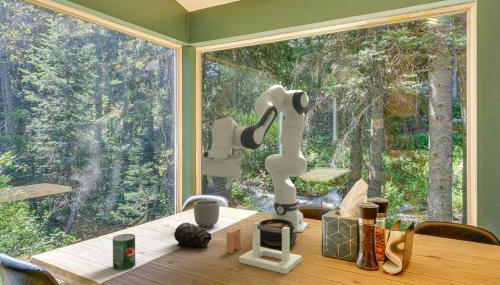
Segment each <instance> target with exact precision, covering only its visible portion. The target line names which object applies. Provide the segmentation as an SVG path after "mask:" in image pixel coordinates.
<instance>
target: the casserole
mask: <svg viewBox="0 0 500 285" xmlns="http://www.w3.org/2000/svg"><path fill="white" fill-rule="evenodd" d="M260 225H262V226H268V227H273V228H279V229H282V228H283V227H290V246H292V245H293V244H295V241H296V239H297V235H295V233H293V230H294V229H295V227H294V226H293V224H292V222H290V221H288V220H283V219H272V218H271V219H264V220H261V221H260ZM260 242H261V243H265V244H266V245H268V246H270V247H282V233H277V232H271V231H266V230H260Z"/></svg>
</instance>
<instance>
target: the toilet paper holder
mask: <svg viewBox="0 0 500 285" xmlns="http://www.w3.org/2000/svg"><path fill="white" fill-rule="evenodd" d="M260 222H261V221H260ZM260 222H259V221H258V222H257V221H253V222H252V226H251V228H252V229H251V230H252V235H251V236H252V248H251V250H249V251H246V252H245V253H244V254H242V255H239V257H238V262H239V263H241V264H245V265H248V266H253V267H256V268H261V269H265V270H269V271H272V272H275V273H279V272H280V274H284V275H287V274H288V273H289V272H291V271H292V270H293V269H294V268H296V267H297V266H298V265H299V264H300V263H301V262H303V255H300V254H297V253H296V254H295V253H291V250H290V248H291V245H290V227H283V228H282V229H279V228H273V227H268V226H262V225H260ZM260 230H266V231H271V232H277V233H282V246H281V250H278V249H273V248H268V247H263V246H261V241H260ZM263 256H265V257H269V258H273V257H274V259H277V258H278V260H280V261H279V262H276V261H272V260H267V259H264V258H262V257H263ZM290 270H291V271H290Z"/></svg>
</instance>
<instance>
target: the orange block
mask: <svg viewBox="0 0 500 285" xmlns="http://www.w3.org/2000/svg"><path fill="white" fill-rule="evenodd" d="M235 250H241V228H233V229H230V230H228V231H226V253H229V254H233V253H235Z"/></svg>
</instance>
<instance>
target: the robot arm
mask: <svg viewBox="0 0 500 285" xmlns="http://www.w3.org/2000/svg"><path fill="white" fill-rule="evenodd" d="M309 103H310V98H309V95H308V94H307V92H306V91H304V90H299V89H298V90H285V88H284V87H283V86H281V85H279V84H274V85H272V86H270V87H269V88H267V89H266V90H264V92H263V93H262V94H260V95H259V97H257V99H256V100H255V102H254V104H253V105H254V111H255V114H257V116H258V117H259V118H258V119H257V120H256V123H254V124H251V125H246V126H244V125H243V126H241V125H239V124H237V123H236V121H235V120H234V118H233V117H232V116H220V117H219V116H218V117H216V118H215V119H214V122H213V126H212V131H211V132H212V134H211V138H212V143H211V147H210V149H208V150H206V151H204V152H202V153H201V157H202V159H201V163H200V164H201V165H200V173H201V175H203V176H206V179H207V181H208V187H210V188H211V187H212V188H213V187H214V186H215V185H214V184H215V182H214V181H213V177H218V178H226V184H224V189H225V190H230V189H231V185H232V183H233V181H234V179H240V178H241V175H242V173H241V159H240V157H239V156H238V155H233V149H243V150H244V149H247V150H252V151H253V150H254V151H256V150H258V149H260V147H261V146H262V144H263V143H264V140H265V137H266V135H267V133H268V131H269V130H270V129H271V126H272V125H273V123H274V121H275V120H276V118H277V116H278V113H282V114H283V113H285V117H284V120H283V124H282V127H281V133H280V138H279V143H280V144H281V145H282V147H283V151H284V152H283V153H275V154H270V155H268V156H267V157H266V159H265V161H264V168H265V170H266V171H267V172H268V173H269V175H270V177H271V179H272V184H273V187H274V188H273V189H274V202H273V210H272V212H271V219H283V220H288V221H290V222H292V224H293V226H294V227H295V229H294V230H293V234H295V233H303V231H304V230H305V229H306V228H307V227H308V222H305V221H304V214H303V213H302V212H301V211H300V210H299V208H298V206H300V201H297V187H296V185H295V184H294V183H293V182H292V180H291V178H290V177H292V178H293V177H301V176H304V175H305V174H306V172H307V170H308V162H307V161H308V160H307V159H306V158H305V157H304V155H303V152H302V147H301V146H302V138H303V134H304V128H305V112H306V111H307V108H308V106H309Z"/></svg>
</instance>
